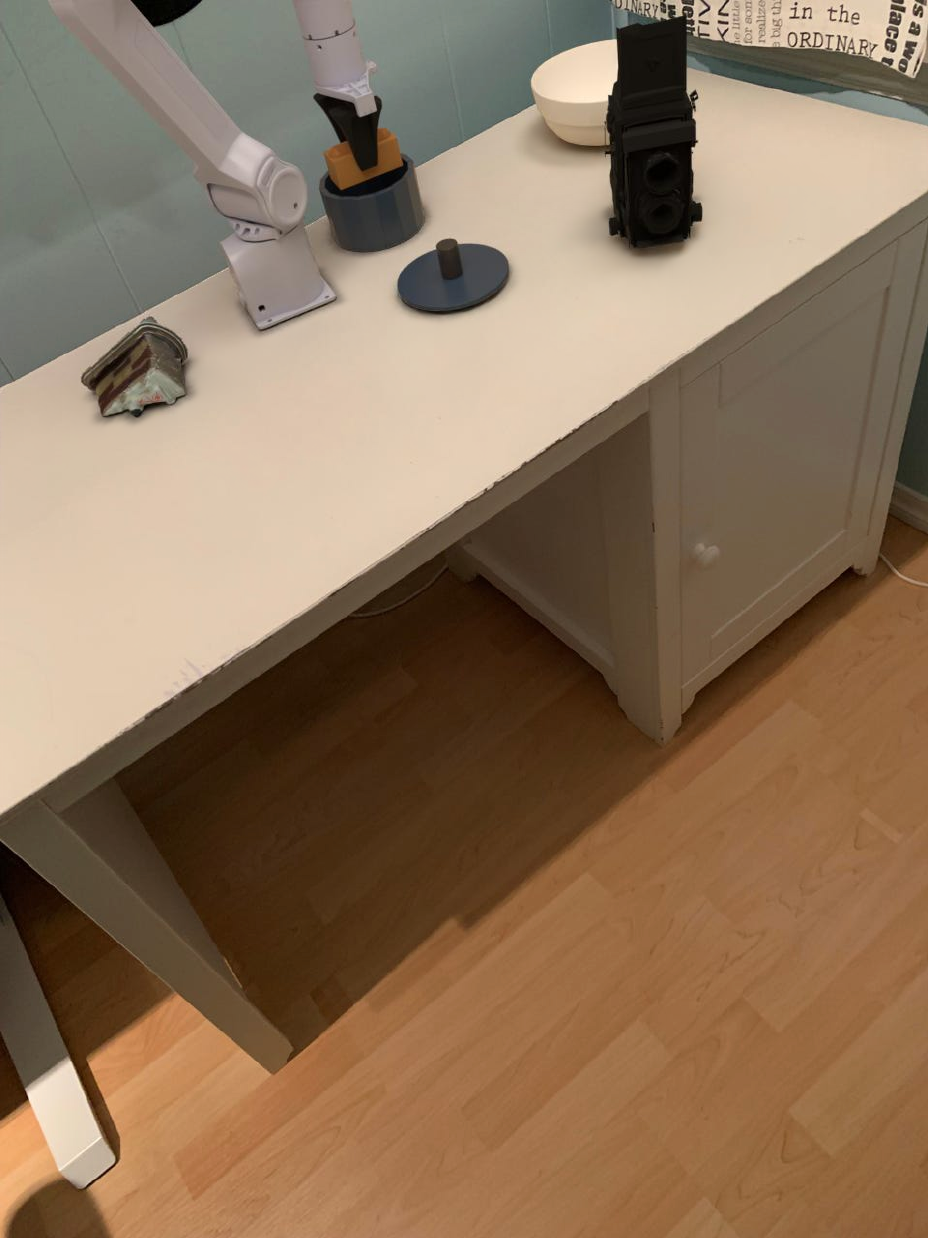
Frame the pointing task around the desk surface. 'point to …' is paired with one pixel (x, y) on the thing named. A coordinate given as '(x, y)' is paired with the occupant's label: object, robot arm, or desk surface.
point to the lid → (453, 276)
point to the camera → (652, 136)
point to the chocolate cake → (139, 370)
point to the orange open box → (346, 167)
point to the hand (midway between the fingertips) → (362, 161)
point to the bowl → (577, 91)
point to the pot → (374, 209)
